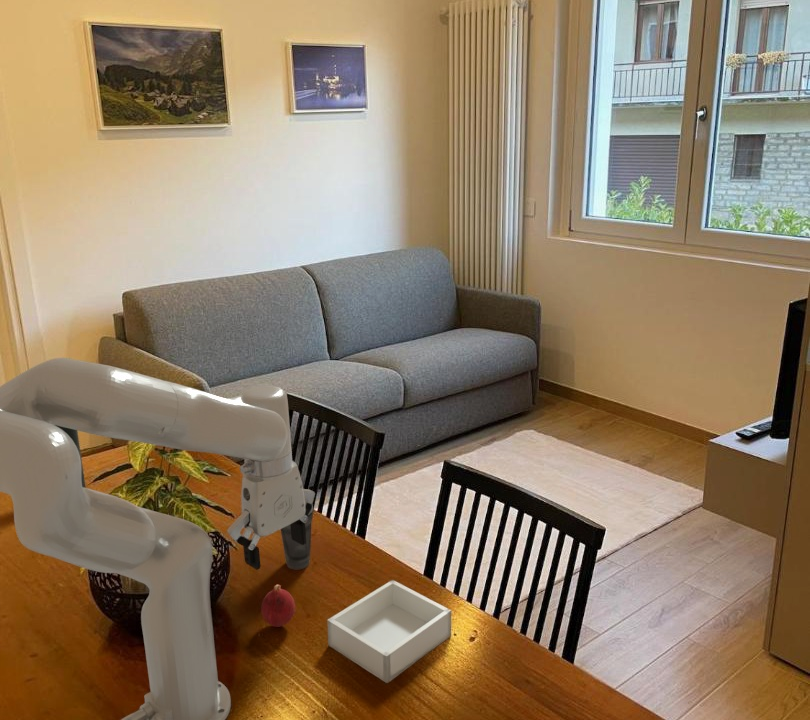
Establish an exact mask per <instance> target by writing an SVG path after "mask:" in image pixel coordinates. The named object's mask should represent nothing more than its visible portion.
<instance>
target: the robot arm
mask: <svg viewBox="0 0 810 720" xmlns="http://www.w3.org/2000/svg"><path fill="white" fill-rule="evenodd" d="M55 425H57V426H61V427H65V428H70V429H74V430H77V432H78V431H79V432H83V433H86V434H89V435H90V434H91V435H94V436H100V437H106V438H112V439H117V440H122V441H123V440H124V441H131V442H138V443H143V444H148V445H154V446H158V447H165V448H171V449H175V450H176V449H177V450H182V451H189V452H190V451H191V452H199V453H200V452H201V453H209V454H216V455H220V456H221V455H222V456H228V457H232V458H238V459H244V460H243V462H244V464H243V465H241V466H239V471H240V473H241V474H242V481H241V491H240V492H241V493H240V494H241V496H240V500H241V501H240V504H241V506H240V507H241V514H240V515H239V516H238V517H237V518H236V519H235V520H234V521H233V522H232V523H231V525H230V526H229V527H228V528H227V531H226V532H227V534H228V535H229V536H230V537H231V539H232V541H233V542H235V543H237V544H238V545H241V546H242V547H243V548H242V549H243V556H244V562H245V564H247V565H248V566H250V567H251V568H253V569H254V570H257V571H258V570H259V569H261V557H260V556H261V555H260V549H259V547H258V546H257V544H258V542H259V540H260V538H264V537H267V536H270V535H272V534H274V533H276V532H278V531H281V529H282V528H284V527H286V526H288V525H291V538H292V540H294V541H296V542H298V543H299V544H301V545H304V544H306V529H305V523H306V522H307V521H308V517H307V516H308V514H309V512H310V510H311V509H312V505H313V502H314V500H315V499H314V498H315V495H316V493H315V491H313V490H311V489H307V488H306V489H305V488H304V487H303V481H302V478H301V473H300V470H299V467H298V465H297V462H295V461H294V460H293V455H292V454H293V453H292V452H293V451H292V441H291V440H292V439H291V426H290V415H289V403H288V395H287V393H286V392H285V390H284V389H283V388H281V387H279V386H275V385H269V384H268V385H257V386H252V387H250V388H248V389H246V390H244V391H243V392H241V394H240V395H236V396H233V397H227V398H225V397H221V396H219V395H218V396H217V395H215V394H212V393H209V392H206V391H204V390H200V389H197V388H193V387H190V386H186V385H183V384H180V383H175V382H172V381H168V380H163V379H160V378H156V377H153V376H149V375H146V374H141V373H140V372H139V373H138V372H135V371H131V370H129V369H128V370H127V369H124V368H119V367H116V366H111V365H108V364H102V363H97V362H89V361H85V360H79V359H74V358H70V357H69V358H68V357H56V358H52V359H49V360H45V361H43V362H42V363H41V362H40V363H38V364H37V365H35V366H32V367H31V368H28V369H27V370H25V371H24V372H21V373H20V374H18V375H16V376H14V377H13V378H11V379H10V380H9V381H6V382H5V383H3V384H2V385H0V492H1V493H4V494H7V495H9V496H10V498H11V501H12V504H13V505H12V506H13V521H14V522H13V523H14V527H15V532H16V536H17V539H18V540H19V541H18V542H20V543H21V544H22V545H23V547H25V548H26V549H28V550H30V551H32V552H35V553H37V554H40V555H44V556H48V557H51V558H53V559H57V560H60V561H63V562H65V563H69V564H70V565H74V566H77V567H79V568H83V569H86V570H90V571H93V572H98V573H107V574H118V575H120V576H123V577H125V578H126V577H127V578H130V579H131V580H134V581H136V582H140V583H141V584H144V585H145V586H146V587H147V588H148V590H149V592H148V593H149V594H148V596H147V598H146V600H145V601H144V603H143V605H142V606H141V611H140V613H141V614H140V621H141V622H140V624H141V629H142V635H143V637H142V638H143V643H144V650H145V660H146V666H147V674H148V681H149V689H150V691H149V692H147V693H146V694H144V703H143V704H141V705H140V706H139V709H138V710H137V711H134V712H132V713H130V714H129V715H126V716H125V717H123V718H121V719H120V720H226V719H227V717H228V716H229V715H230V714H229V713H230V711H231V707H232V699H231V694H230V691H229V689H228V687H226V686H225V684H223V683H222V682H221V681H219V679H218V670H217V669H218V668H217V658H216V648H215V640H214V639H215V637H214V628H213V617H212V616H213V615H212V608H211V606H212V605H211V595H210V592H211V591H210V581H211V580H210V579H211V570H212V563H213V544H212V543H213V542H212V540H211V538H210V536H209V534H208V533H207V532H206V531H205V530H204V529H203V528H202V527H200V525H197V524H196V523H193V522H191V521H189V520H187V519H184V518H180V517H177V516H174V515H170V514H166V513H163V512H158V511H154V510H152V509H148V508H144V507H140V506H138V505H136V504H134V503H132V502H131V501H129V500H126V499H123V498H121V497H118V496H115V495H112V494H109V493H105V492H101V491H98V490H95V489H91V488H88V487H86V488H84V487H82V477H81V459H82V458H81V459H80V455H79V451H78V449H77V447H76V445H75V443H74V442H73V440H72V439H71V438H70V436H69V435H68V434H67V433H65V432H64V431H63V430H62V429H60V428H59V427H57V426H55ZM243 529H244V530H243ZM242 530H243V533H242V532H241V531H242ZM252 533H253V534H252ZM251 535H252V536H251ZM250 537H251V538H250Z"/></svg>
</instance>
